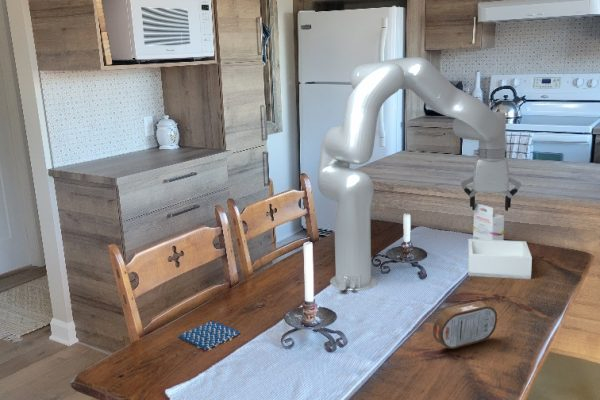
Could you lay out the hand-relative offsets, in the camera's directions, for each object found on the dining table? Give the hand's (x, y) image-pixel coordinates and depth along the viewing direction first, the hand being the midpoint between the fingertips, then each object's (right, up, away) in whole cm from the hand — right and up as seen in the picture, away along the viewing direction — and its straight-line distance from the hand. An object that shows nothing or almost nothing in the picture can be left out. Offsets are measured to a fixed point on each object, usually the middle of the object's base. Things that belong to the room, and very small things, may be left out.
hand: (489, 209), depth 175 cm
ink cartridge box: (0, -13, +3) cm, 13 cm away
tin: (-23, -27, -55) cm, 66 cm away
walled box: (-2, -16, -13) cm, 21 cm away
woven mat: (-78, -28, -49) cm, 96 cm away
